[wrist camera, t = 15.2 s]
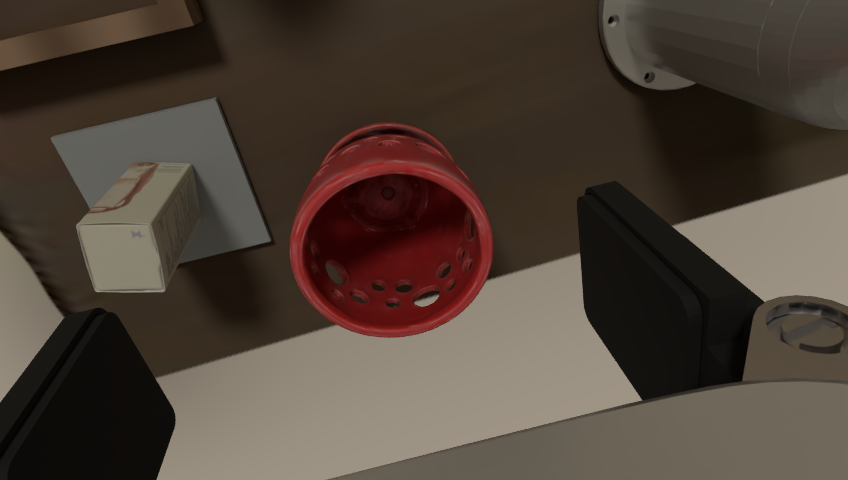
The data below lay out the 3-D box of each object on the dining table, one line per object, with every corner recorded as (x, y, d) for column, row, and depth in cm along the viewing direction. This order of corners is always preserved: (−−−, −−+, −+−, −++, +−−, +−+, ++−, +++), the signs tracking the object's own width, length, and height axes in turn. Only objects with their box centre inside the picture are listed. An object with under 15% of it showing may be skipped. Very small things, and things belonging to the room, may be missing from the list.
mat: (216, 97, 39) (215, 99, 39) (271, 237, 45) (270, 241, 45) (54, 135, 39) (50, 138, 39) (130, 272, 45) (128, 276, 44)
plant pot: (378, 72, 40) (392, 114, 30) (492, 183, 46) (537, 251, 35) (267, 192, 43) (243, 269, 33) (385, 283, 49) (398, 373, 38)
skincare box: (131, 160, 40) (72, 219, 31) (193, 161, 41) (153, 219, 32) (143, 224, 42) (92, 294, 34) (202, 223, 43) (167, 293, 34)
